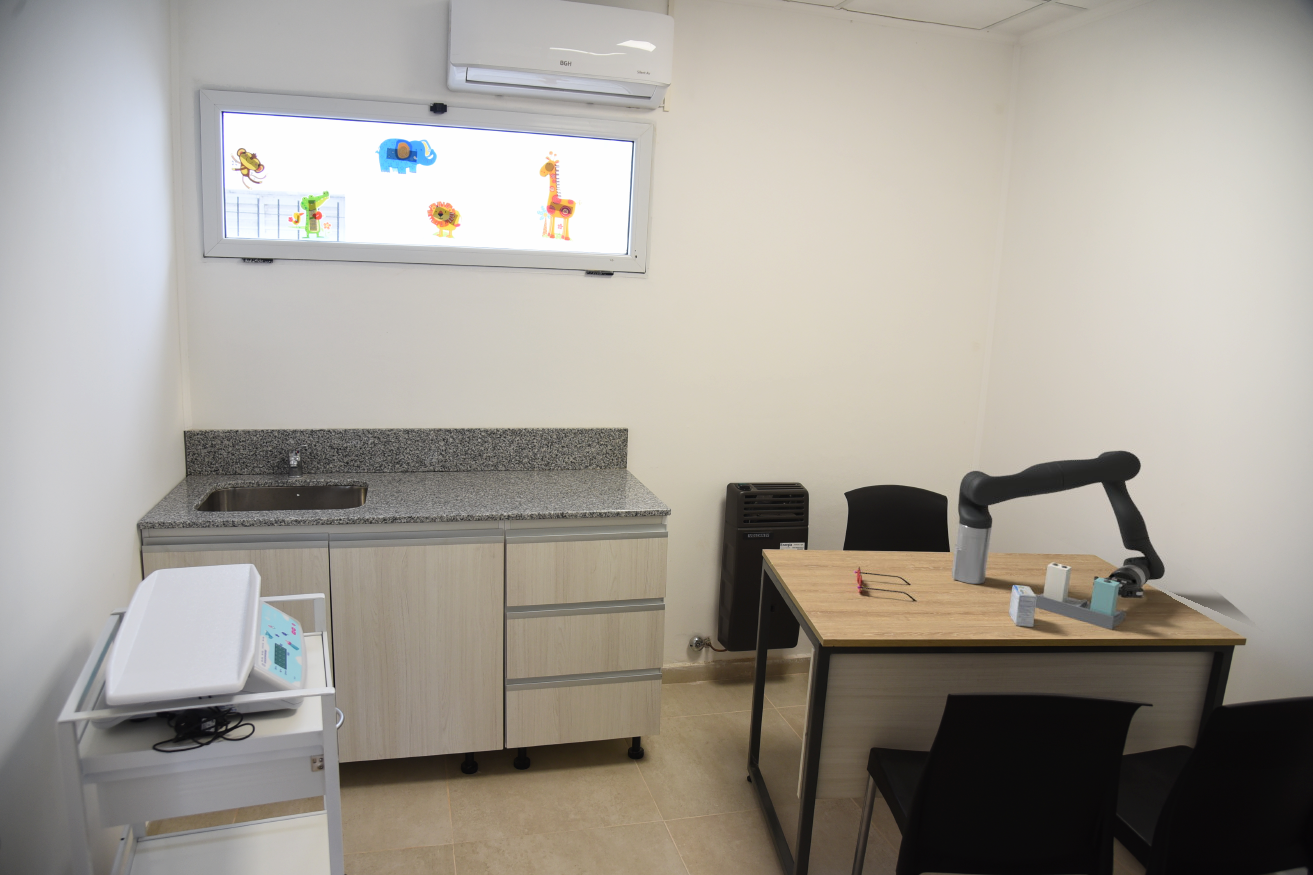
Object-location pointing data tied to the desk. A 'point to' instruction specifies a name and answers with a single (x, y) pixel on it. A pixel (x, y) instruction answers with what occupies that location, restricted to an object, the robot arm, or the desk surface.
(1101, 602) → the teal block
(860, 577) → the glasses
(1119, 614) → the gray divided tray
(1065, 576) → the white battery block
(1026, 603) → the medicine box
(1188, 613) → the desk surface
